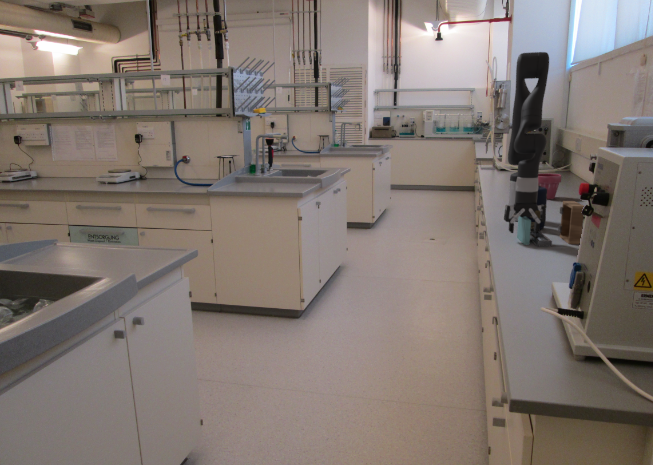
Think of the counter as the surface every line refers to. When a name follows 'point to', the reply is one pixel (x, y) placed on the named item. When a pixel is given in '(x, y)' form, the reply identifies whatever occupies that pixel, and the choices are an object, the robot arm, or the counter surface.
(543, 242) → the grey rectangular frame
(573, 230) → the cabinet
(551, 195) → the plant pot
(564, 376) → the counter surface
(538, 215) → the canister
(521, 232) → the door panel
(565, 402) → the counter surface
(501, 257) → the counter surface
